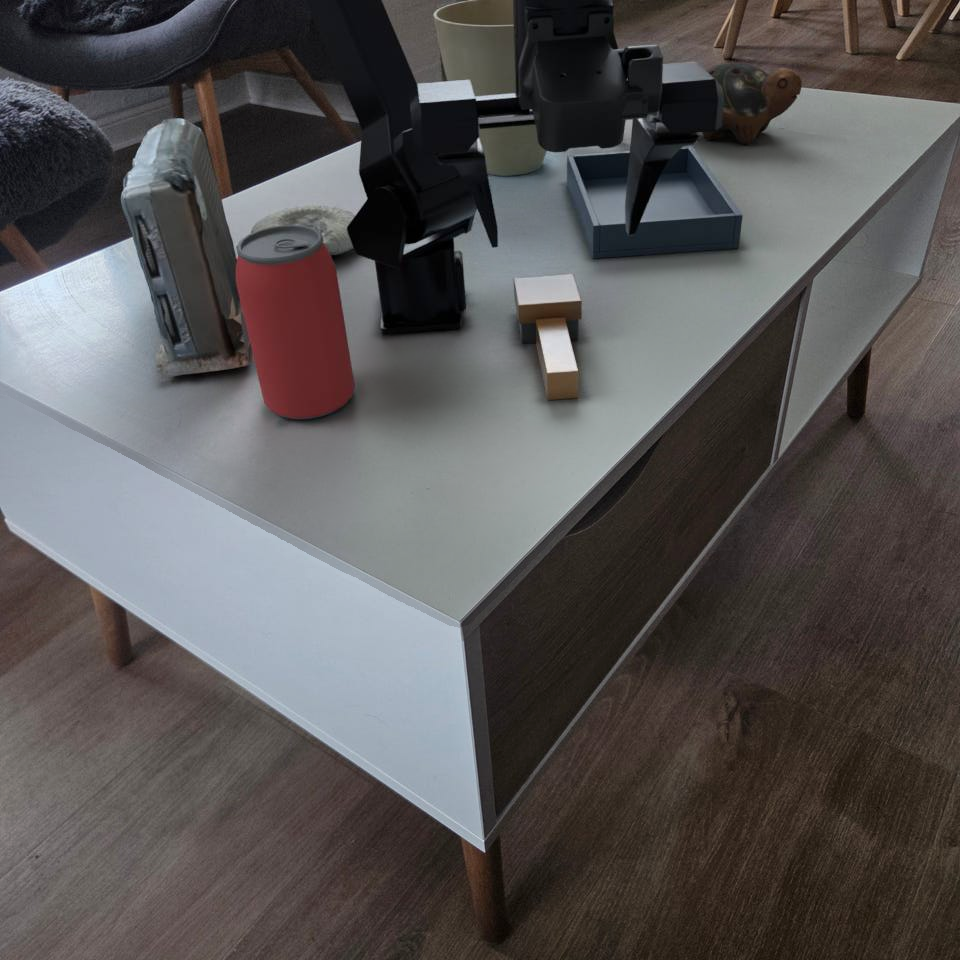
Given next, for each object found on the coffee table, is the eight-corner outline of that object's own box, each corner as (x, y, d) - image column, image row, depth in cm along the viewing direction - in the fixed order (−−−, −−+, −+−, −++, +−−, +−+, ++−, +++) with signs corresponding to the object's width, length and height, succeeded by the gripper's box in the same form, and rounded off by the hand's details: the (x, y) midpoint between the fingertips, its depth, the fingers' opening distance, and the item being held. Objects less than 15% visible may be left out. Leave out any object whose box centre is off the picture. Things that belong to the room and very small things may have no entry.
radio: (186, 260, 88) (143, 97, 79) (277, 252, 88) (244, 88, 79) (134, 388, 70) (70, 193, 60) (249, 377, 70) (202, 182, 61)
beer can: (339, 427, 64) (310, 264, 56) (250, 420, 65) (210, 260, 58) (367, 377, 69) (343, 222, 62) (284, 372, 70) (251, 220, 63)
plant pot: (540, 196, 96) (537, 29, 87) (420, 178, 102) (405, 21, 93) (599, 152, 106) (602, -2, 97) (486, 138, 113) (479, -8, 103)
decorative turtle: (788, 154, 102) (792, 78, 97) (656, 149, 109) (654, 78, 104) (808, 123, 108) (814, 51, 103) (683, 121, 115) (682, 53, 110)
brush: (596, 396, 65) (597, 354, 63) (528, 401, 65) (527, 359, 63) (573, 312, 75) (573, 273, 73) (514, 316, 75) (513, 277, 73)
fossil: (279, 240, 80) (220, 226, 87) (290, 281, 82) (232, 264, 89) (378, 200, 86) (316, 190, 93) (386, 239, 88) (325, 226, 95)
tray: (592, 259, 83) (593, 225, 81) (566, 184, 98) (566, 155, 97) (738, 248, 83) (742, 215, 81) (690, 175, 99) (692, 146, 97)
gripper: (401, 21, 46) (429, 306, 55) (770, -8, 47) (735, 278, 56) (398, -18, 55) (422, 233, 64) (708, -42, 56) (687, 210, 65)
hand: (562, 239), depth 62 cm, fingers open, 9 cm apart
